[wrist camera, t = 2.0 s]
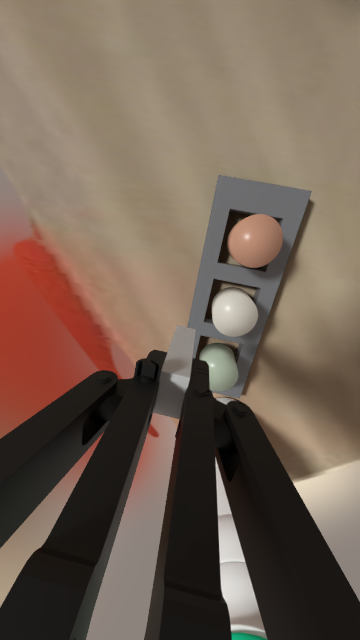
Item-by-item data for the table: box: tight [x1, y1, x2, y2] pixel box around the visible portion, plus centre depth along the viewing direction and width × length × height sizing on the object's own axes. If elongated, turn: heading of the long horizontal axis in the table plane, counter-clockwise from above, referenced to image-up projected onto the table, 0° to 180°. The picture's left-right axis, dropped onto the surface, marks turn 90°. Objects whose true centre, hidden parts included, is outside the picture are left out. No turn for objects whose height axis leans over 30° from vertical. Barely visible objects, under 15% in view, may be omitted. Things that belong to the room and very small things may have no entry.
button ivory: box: [212, 287, 258, 337], centre depth 26 cm, size 5×5×4 cm
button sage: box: [199, 343, 238, 391], centre depth 29 cm, size 5×5×4 cm
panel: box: [188, 175, 312, 398], centre depth 29 cm, size 28×10×2 cm, turn 170°
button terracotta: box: [227, 214, 283, 268], centre depth 23 cm, size 5×5×4 cm
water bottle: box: [215, 397, 267, 640], centre depth 25 cm, size 7×7×25 cm
